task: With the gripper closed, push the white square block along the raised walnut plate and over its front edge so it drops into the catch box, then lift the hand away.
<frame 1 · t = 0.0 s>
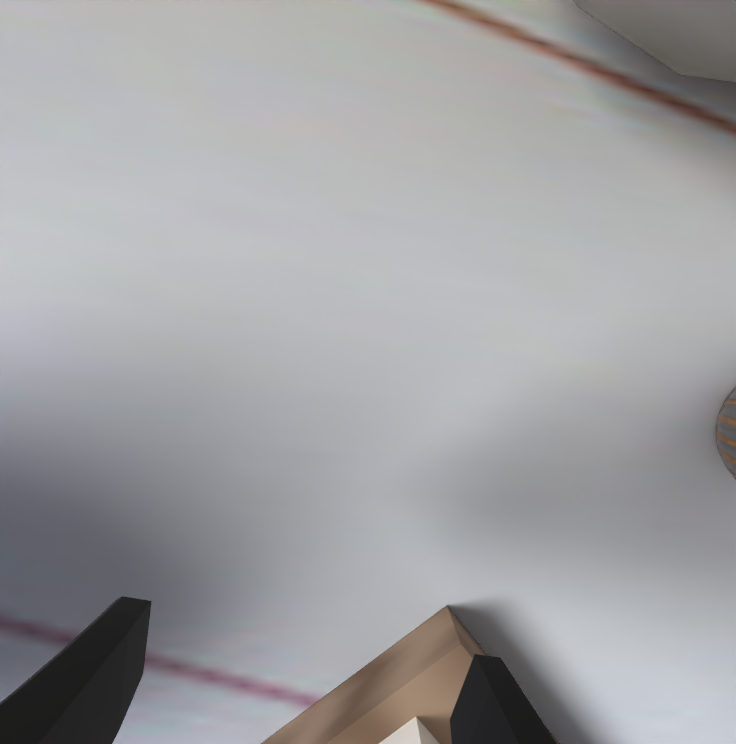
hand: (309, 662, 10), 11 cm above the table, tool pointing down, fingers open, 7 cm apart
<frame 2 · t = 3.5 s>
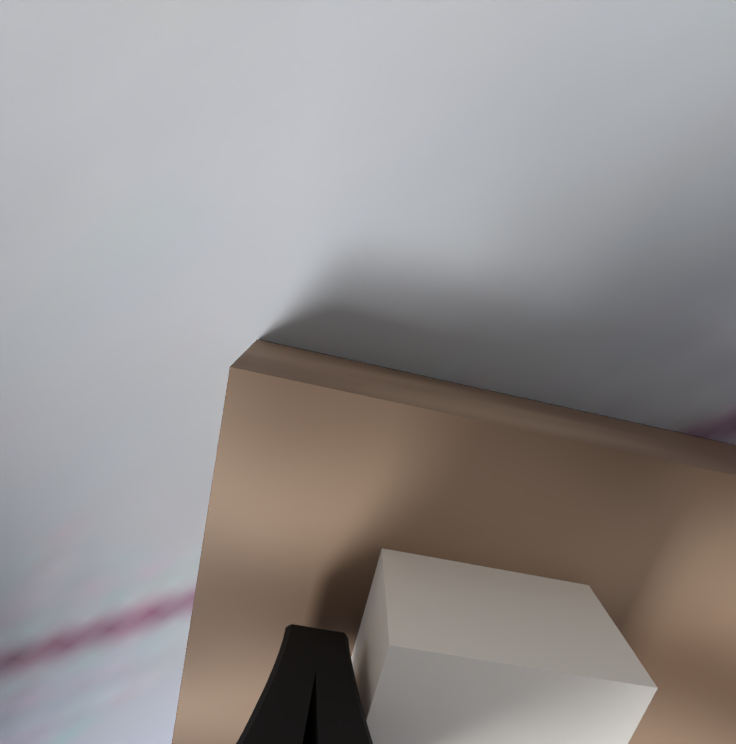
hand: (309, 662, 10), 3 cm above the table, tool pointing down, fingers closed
white square block: (457, 650, 11), point 3 cm above the table, touching gripper
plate: (488, 586, 13), on the table
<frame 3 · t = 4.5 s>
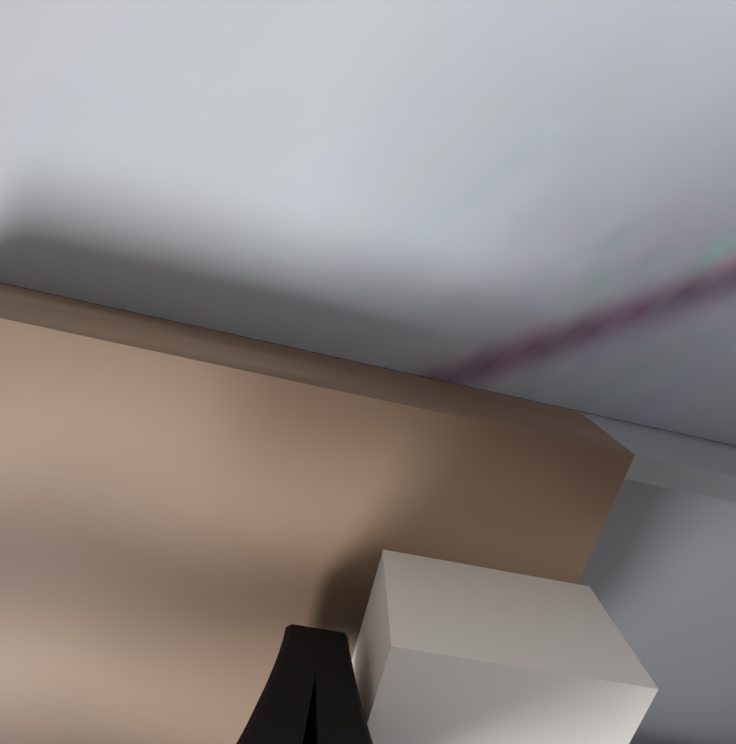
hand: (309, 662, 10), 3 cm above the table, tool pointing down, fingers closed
white square block: (458, 651, 11), point 3 cm above the table, touching gripper
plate: (246, 543, 13), on the table
catch box: (701, 625, 14), on the table
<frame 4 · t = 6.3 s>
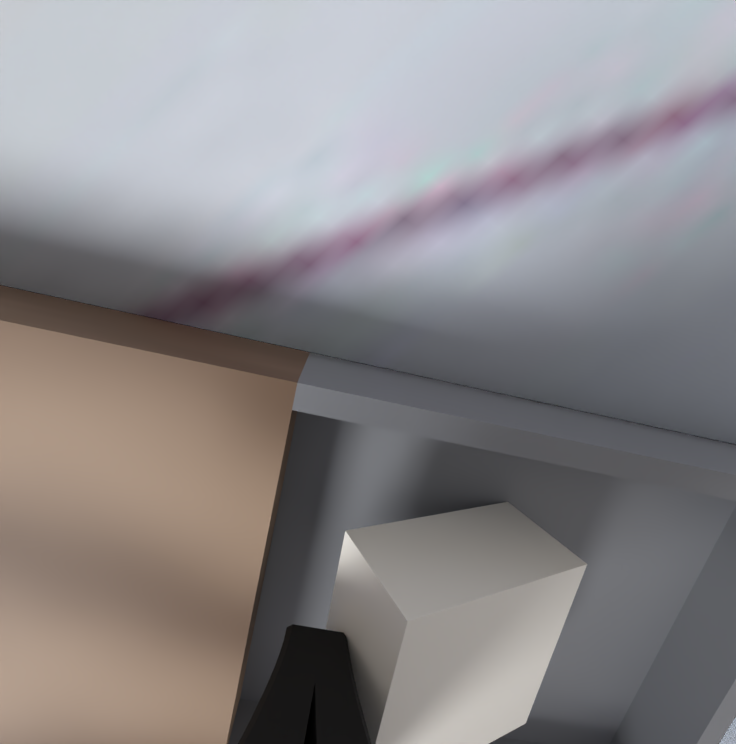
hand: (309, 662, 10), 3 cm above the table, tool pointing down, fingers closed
white square block: (414, 596, 12), point 2 cm above the table, tilted 27°, touching catch box, gripper
catch box: (483, 585, 13), on the table
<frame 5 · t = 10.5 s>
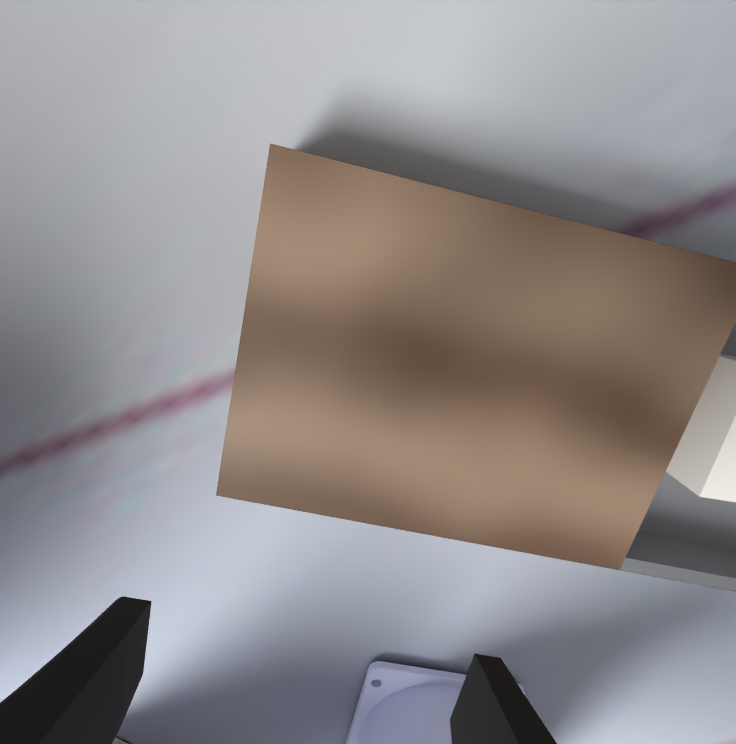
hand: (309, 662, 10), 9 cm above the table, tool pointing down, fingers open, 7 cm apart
white square block: (734, 419, 18), resting on catch box
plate: (455, 368, 18), on the table
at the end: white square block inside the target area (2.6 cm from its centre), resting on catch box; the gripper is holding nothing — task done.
